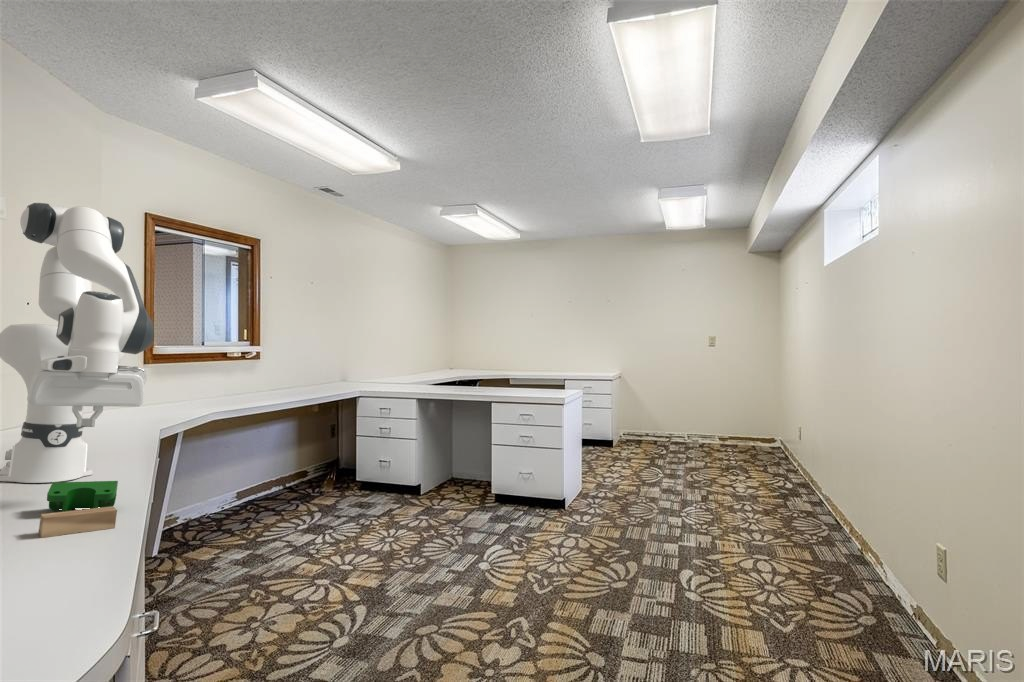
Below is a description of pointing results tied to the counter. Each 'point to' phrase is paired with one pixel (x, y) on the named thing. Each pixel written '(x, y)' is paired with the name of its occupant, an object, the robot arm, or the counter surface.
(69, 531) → the stop rail
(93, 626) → the counter surface
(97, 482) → the clamp
